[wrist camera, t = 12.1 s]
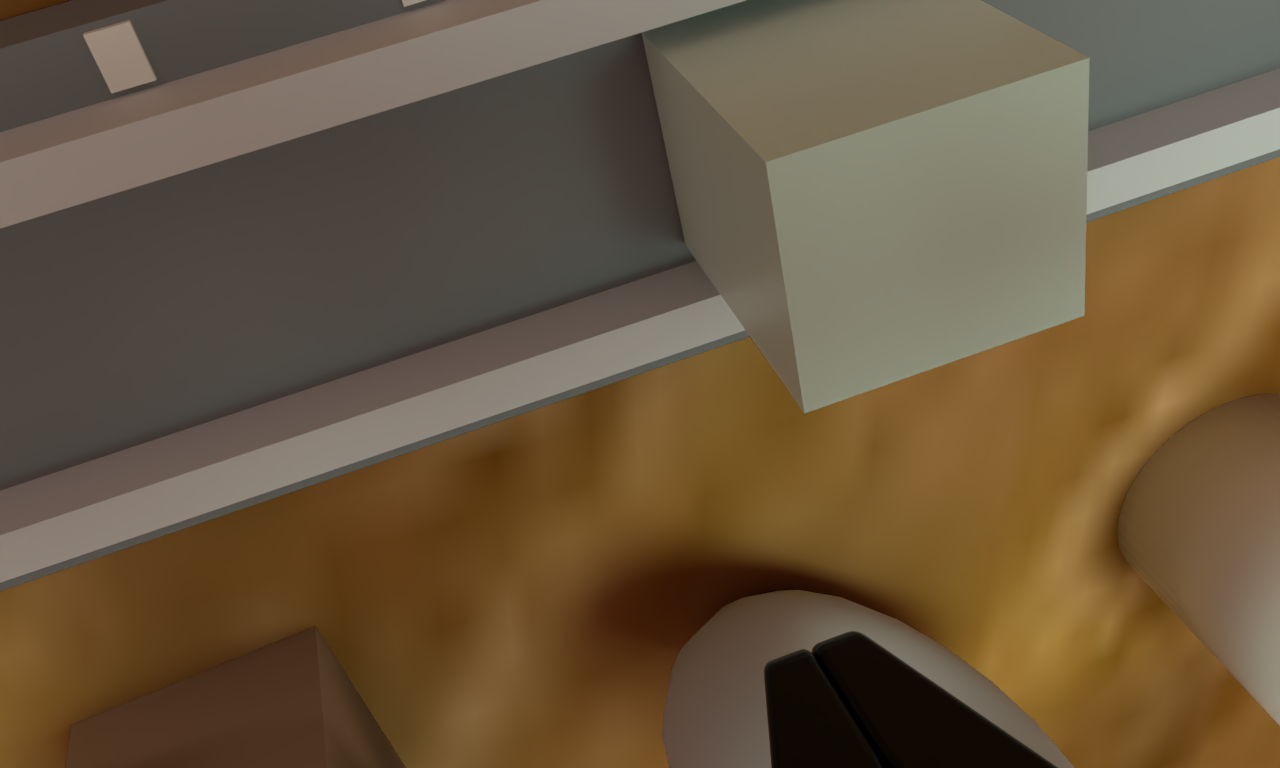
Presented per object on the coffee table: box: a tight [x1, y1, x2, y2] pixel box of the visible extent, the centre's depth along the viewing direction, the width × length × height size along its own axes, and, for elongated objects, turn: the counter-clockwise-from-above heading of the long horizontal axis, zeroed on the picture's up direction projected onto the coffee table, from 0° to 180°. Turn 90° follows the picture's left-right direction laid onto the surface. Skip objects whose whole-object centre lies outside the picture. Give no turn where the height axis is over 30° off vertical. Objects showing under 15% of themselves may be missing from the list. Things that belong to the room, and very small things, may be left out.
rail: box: [0, 0, 1280, 591], centre depth 19 cm, size 8×30×3 cm, turn 102°
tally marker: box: [642, 0, 1090, 413], centre depth 17 cm, size 4×4×5 cm
